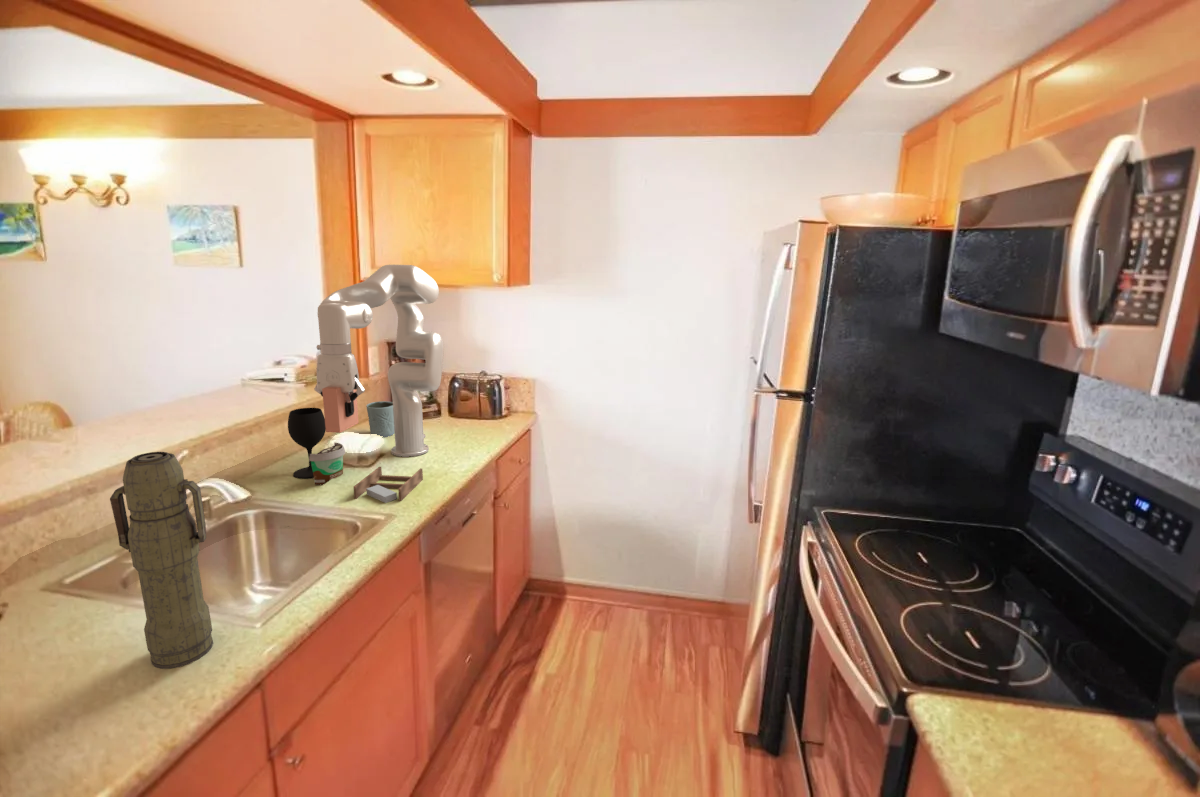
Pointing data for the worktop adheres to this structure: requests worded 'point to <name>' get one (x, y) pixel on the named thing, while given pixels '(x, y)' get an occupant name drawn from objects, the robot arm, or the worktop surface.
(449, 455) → the worktop surface
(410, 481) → the rack
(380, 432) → the blue-grey embossed cup
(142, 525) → the thermos
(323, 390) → the pink slab
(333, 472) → the food container
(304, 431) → the wine glass
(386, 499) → the offcut upper
